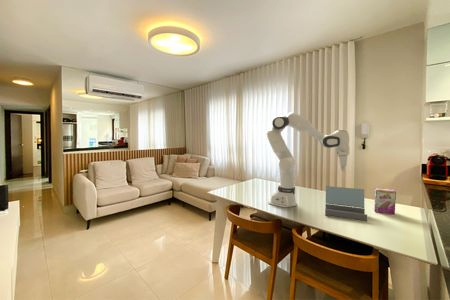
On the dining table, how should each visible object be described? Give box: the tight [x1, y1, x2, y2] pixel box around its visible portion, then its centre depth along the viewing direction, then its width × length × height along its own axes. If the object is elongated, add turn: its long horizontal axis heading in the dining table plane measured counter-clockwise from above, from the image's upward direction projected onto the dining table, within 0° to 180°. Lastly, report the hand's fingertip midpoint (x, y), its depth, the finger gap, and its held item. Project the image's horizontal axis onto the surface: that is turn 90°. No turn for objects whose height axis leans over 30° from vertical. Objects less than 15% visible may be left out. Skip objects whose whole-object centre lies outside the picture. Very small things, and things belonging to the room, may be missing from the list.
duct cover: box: [325, 185, 365, 209], centre depth 146 cm, size 24×13×1 cm
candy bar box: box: [373, 187, 397, 215], centre depth 141 cm, size 11×5×16 cm, turn 59°
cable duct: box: [324, 203, 368, 223], centre depth 139 cm, size 24×12×4 cm, turn 62°
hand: (342, 170), depth 151 cm, fingers open, 8 cm apart
